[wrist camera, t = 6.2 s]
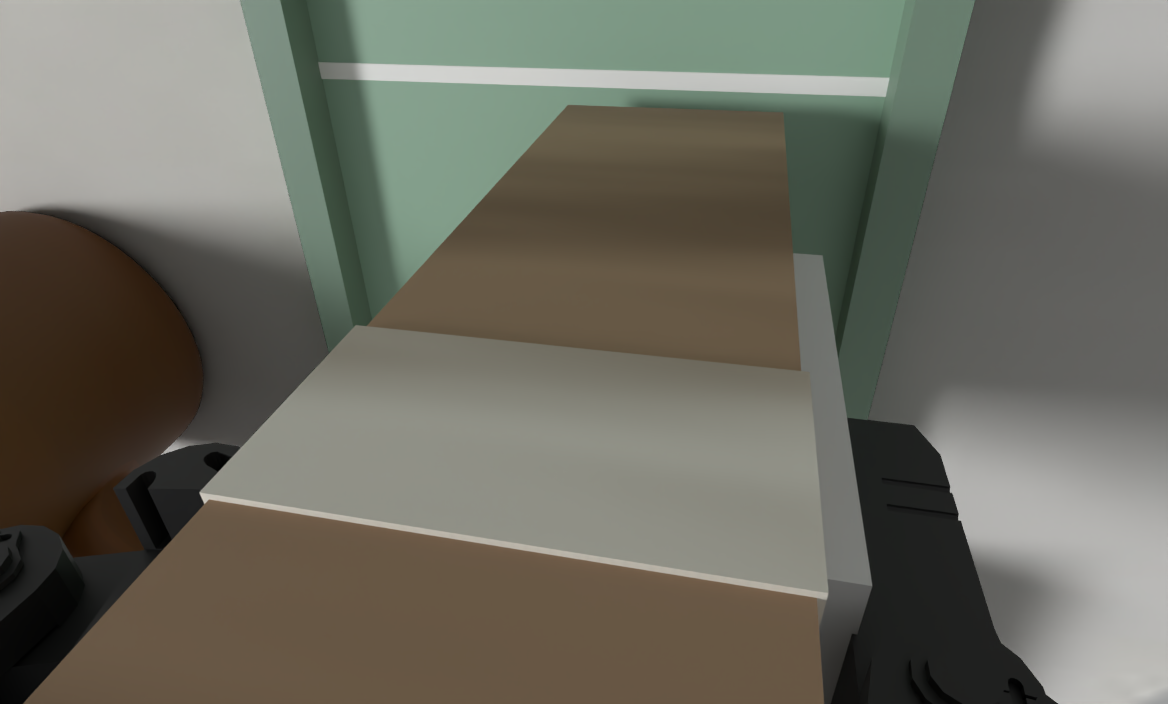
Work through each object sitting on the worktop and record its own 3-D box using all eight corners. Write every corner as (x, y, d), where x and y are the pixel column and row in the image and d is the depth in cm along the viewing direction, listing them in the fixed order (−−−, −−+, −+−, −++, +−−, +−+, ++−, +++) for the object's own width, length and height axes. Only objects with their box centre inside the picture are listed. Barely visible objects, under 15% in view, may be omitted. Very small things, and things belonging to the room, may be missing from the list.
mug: (391, 425, 19) (135, 777, 11) (290, 548, 23) (52, 867, 16) (-15, 137, 17) (-668, 330, 9) (-47, 329, 21) (-519, 573, 13)
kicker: (565, 101, 12) (-314, 1041, 2) (787, 109, 11) (909, 1526, 2) (574, 387, 15) (240, 1257, 6) (745, 406, 15) (704, 1440, 5)
